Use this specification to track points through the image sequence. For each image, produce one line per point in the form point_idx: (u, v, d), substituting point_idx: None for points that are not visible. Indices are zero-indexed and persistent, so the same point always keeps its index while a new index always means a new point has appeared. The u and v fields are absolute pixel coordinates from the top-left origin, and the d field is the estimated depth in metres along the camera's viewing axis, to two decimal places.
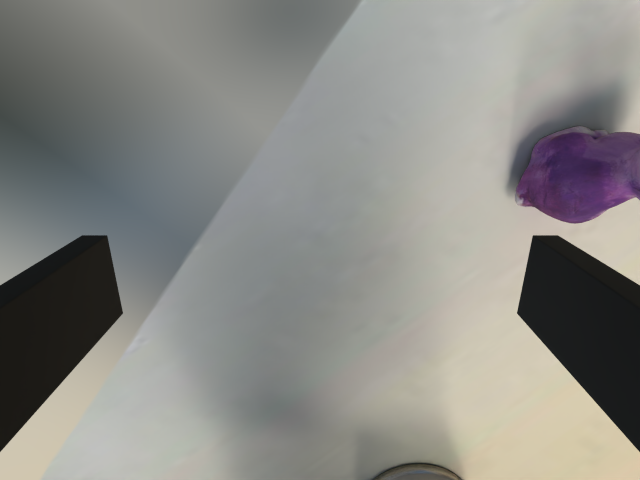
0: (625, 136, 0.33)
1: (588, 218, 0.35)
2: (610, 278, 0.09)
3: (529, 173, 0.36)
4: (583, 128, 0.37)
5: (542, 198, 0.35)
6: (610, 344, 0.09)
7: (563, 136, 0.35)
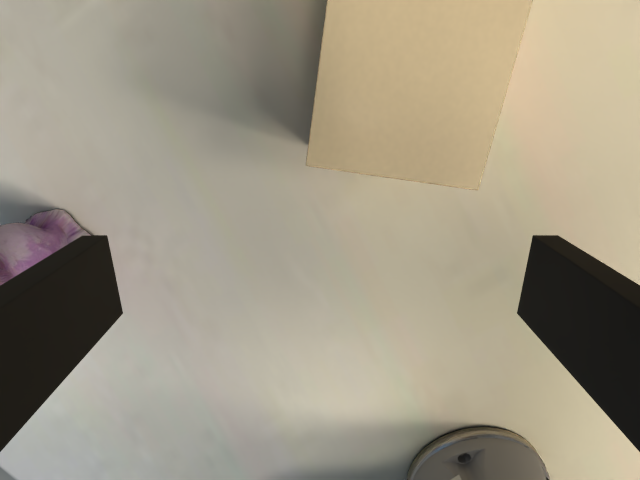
0: None
1: None
2: (610, 278, 0.09)
3: None
4: None
5: None
6: (611, 345, 0.09)
7: None
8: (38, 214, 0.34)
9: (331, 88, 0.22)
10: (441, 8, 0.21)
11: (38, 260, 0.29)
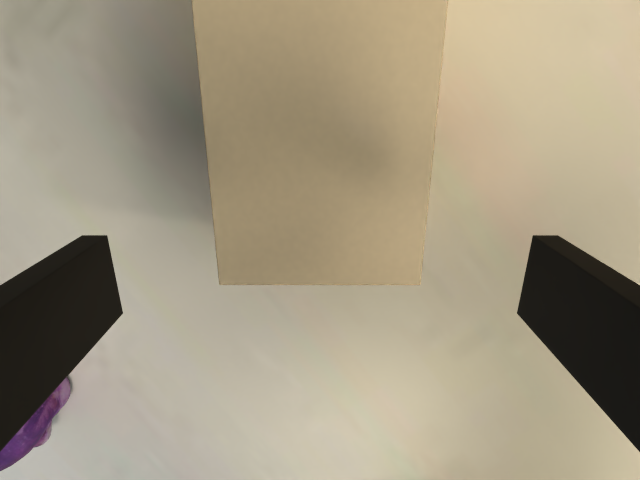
0: None
1: (17, 435, 0.29)
2: (610, 278, 0.09)
3: None
4: None
5: None
6: (610, 344, 0.09)
7: None
8: None
9: (229, 202, 0.20)
10: (334, 100, 0.18)
11: None
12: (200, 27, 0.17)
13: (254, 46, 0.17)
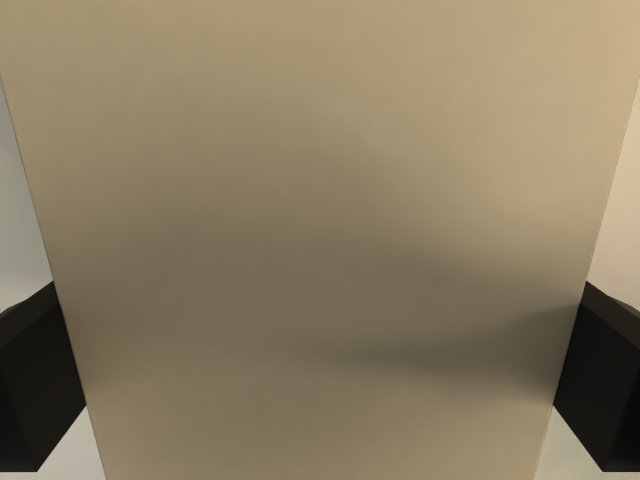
0: None
1: None
2: None
3: None
4: None
5: None
6: None
7: None
8: None
9: (109, 338, 0.08)
10: (359, 101, 0.07)
11: None
12: None
13: None
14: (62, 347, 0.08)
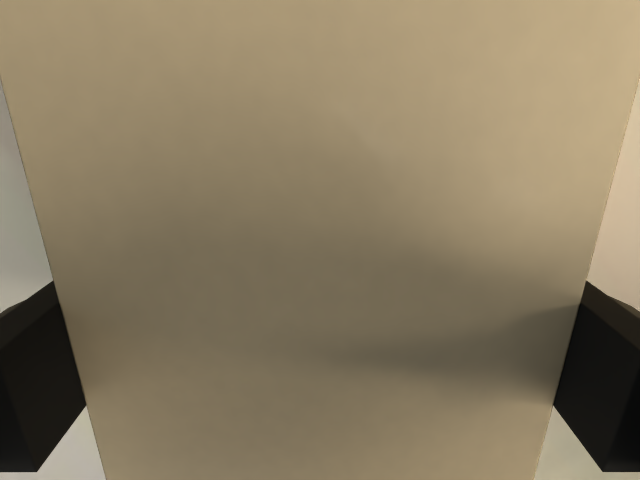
0: None
1: None
2: None
3: None
4: None
5: None
6: None
7: None
8: None
9: (109, 338, 0.08)
10: (359, 101, 0.07)
11: None
12: None
13: None
14: (62, 347, 0.08)
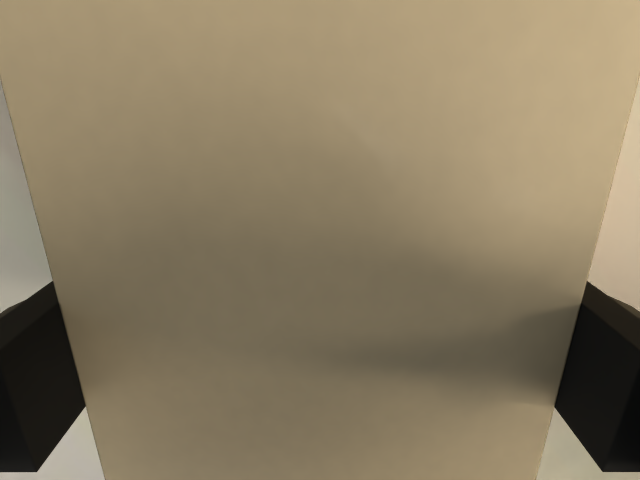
0: None
1: None
2: None
3: None
4: None
5: None
6: None
7: None
8: None
9: (108, 338, 0.08)
10: (358, 100, 0.07)
11: None
12: None
13: None
14: (62, 347, 0.08)
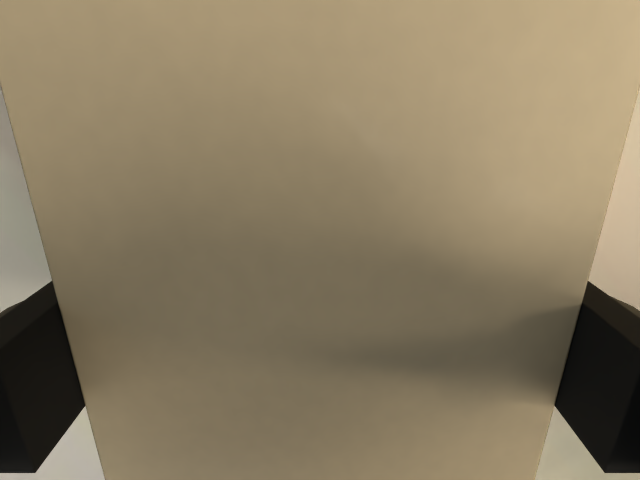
0: None
1: None
2: None
3: None
4: None
5: None
6: None
7: None
8: None
9: (108, 337, 0.08)
10: (361, 99, 0.07)
11: None
12: None
13: None
14: (61, 347, 0.08)
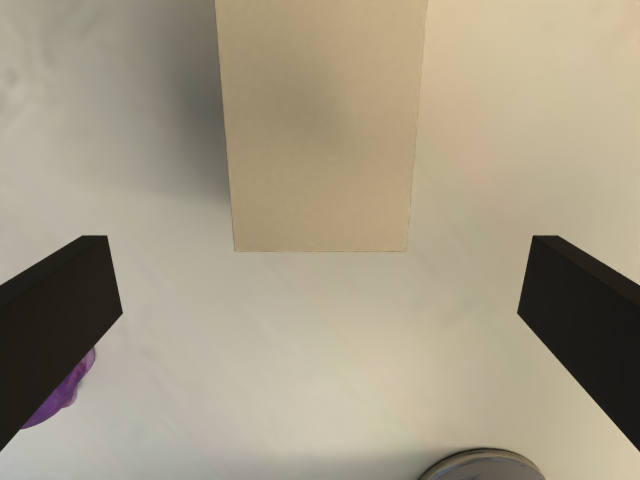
0: None
1: None
2: (610, 278, 0.09)
3: None
4: None
5: None
6: (610, 344, 0.09)
7: None
8: None
9: (244, 180, 0.23)
10: (333, 93, 0.21)
11: None
12: (222, 32, 0.20)
13: (266, 48, 0.21)
14: None
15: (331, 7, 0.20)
